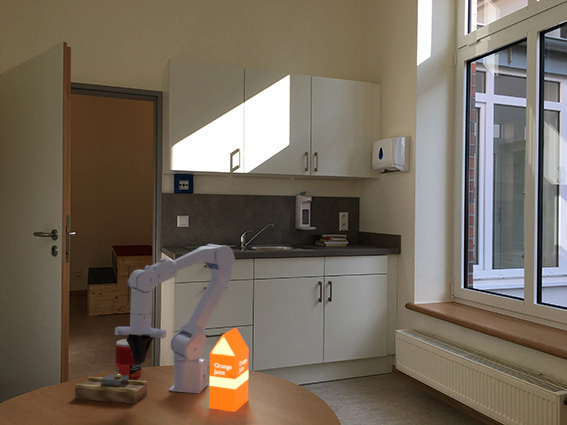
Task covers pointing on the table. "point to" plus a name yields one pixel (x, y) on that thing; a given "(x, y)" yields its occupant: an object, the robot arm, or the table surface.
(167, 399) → the table surface
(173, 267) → the robot arm
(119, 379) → the grey block with knob
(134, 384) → the wooden channel tray
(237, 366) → the orange juice
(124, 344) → the canned food
